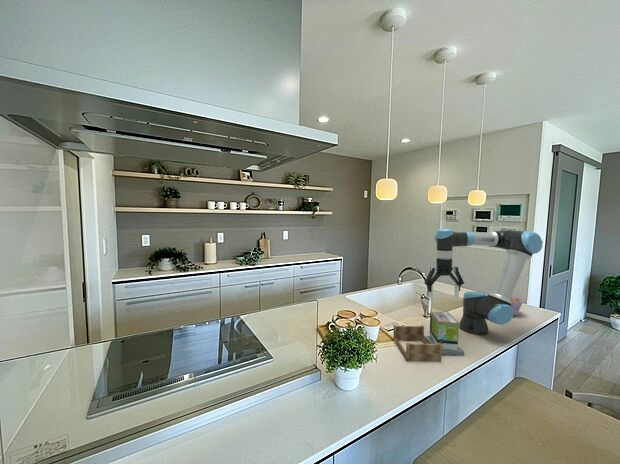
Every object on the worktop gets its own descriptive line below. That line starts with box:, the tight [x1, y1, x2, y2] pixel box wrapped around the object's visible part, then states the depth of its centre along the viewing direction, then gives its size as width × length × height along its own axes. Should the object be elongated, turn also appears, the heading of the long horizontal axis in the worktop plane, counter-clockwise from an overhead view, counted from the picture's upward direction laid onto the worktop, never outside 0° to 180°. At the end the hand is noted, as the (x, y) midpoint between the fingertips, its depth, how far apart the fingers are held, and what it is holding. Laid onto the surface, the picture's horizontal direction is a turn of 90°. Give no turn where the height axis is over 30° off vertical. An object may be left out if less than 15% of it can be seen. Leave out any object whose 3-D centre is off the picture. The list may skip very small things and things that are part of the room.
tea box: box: [429, 310, 460, 351], centre depth 137 cm, size 15×10×15 cm, turn 170°
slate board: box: [424, 335, 465, 357], centre depth 137 cm, size 13×17×2 cm
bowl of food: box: [510, 295, 524, 315], centre depth 185 cm, size 20×20×12 cm
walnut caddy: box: [392, 324, 442, 362], centre depth 134 cm, size 17×22×8 cm
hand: (443, 297), depth 139 cm, fingers open, 13 cm apart
